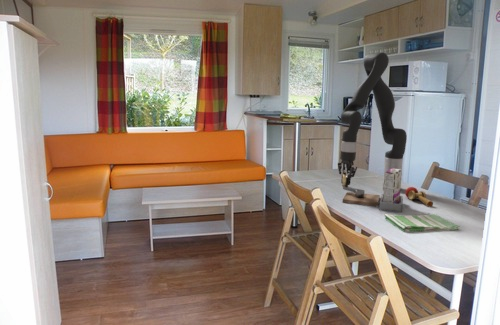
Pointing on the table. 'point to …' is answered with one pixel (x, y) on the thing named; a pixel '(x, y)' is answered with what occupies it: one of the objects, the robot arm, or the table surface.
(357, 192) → the crank
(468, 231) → the table surface
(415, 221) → the dish towel
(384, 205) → the tray
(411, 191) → the kendama
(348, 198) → the crank base
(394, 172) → the candy bar box
